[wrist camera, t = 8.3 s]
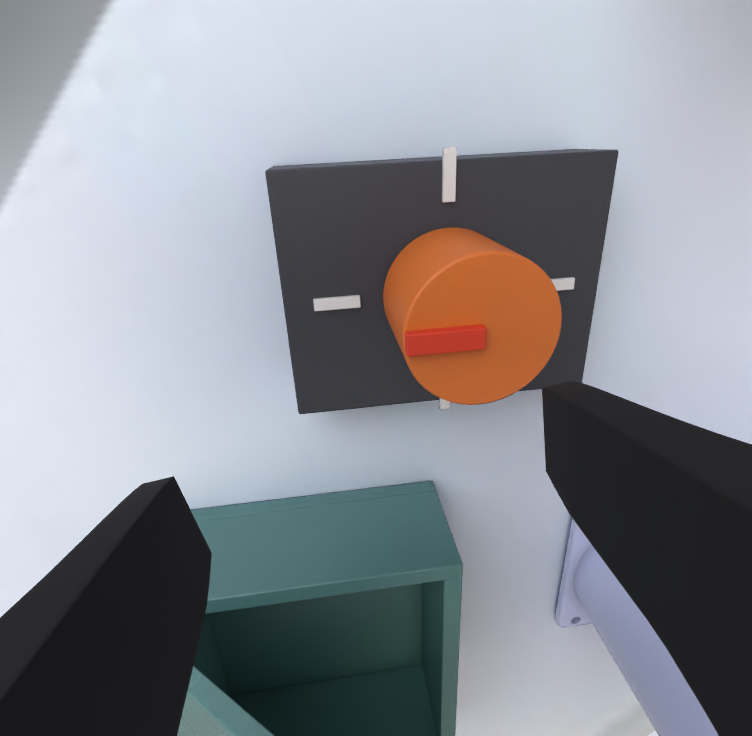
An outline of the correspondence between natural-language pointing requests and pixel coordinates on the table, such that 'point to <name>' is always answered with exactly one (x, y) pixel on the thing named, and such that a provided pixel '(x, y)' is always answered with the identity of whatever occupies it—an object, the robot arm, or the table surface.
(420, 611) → the teal hollow box
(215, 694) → the lid
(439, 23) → the table surface
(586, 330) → the thermostat box
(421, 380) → the dial
